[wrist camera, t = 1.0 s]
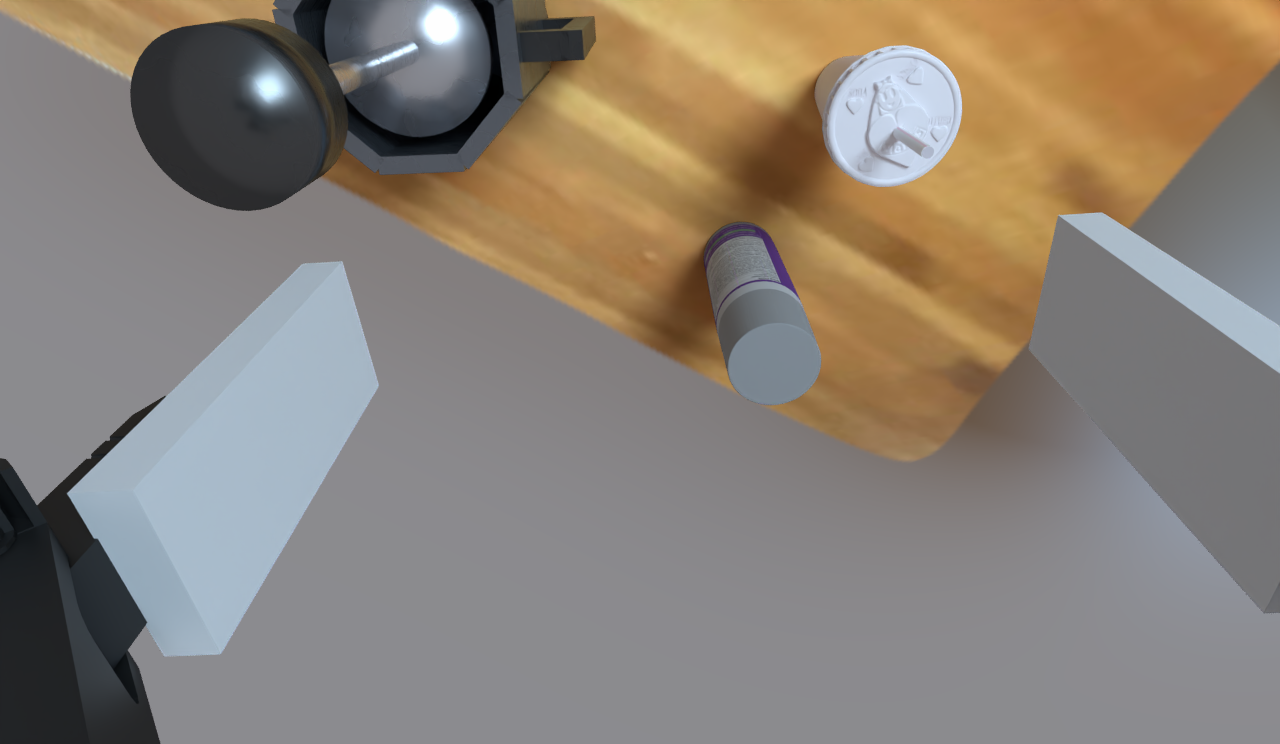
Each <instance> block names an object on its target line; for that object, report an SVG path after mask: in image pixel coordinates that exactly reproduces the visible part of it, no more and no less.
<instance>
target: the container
mask: <svg viewBox="0 0 1280 744" xmlns="http://www.w3.org/2000/svg"><path fill="white" fill-rule="evenodd" d="M704 266H705V271H706V276H707V281H708V287H709V292H710V297H711V302H712V308H713V313H714V318H715V323H716V328H717V333H718V336H719V340H720V344H721V348H722V352H723V356H724V360H725V364H726V368H727V371H728V375H729V379H730V381H731V383H732V385H733V387H734V388H735V390H736V391H737V392H738V393H739V394H740V395H742V396H743V397H744V398H746V399H748V400H750V401H752V402H755V403H758V404H763V405H778V404H783V403H787V402H790V401H792V400H794V399H796V398H798V397H800V396H801V395H803V394H804V393H805V392H806V391H807V390H808V389H809V388H810V387H811V386H812V385H813V383H814V382H815V380H816V378H817V377H818V374H819V371H820V367H821V354H820V350H819V347H818V345H817V342H816V340H815V337H814V334H813V332H812V329H811V327H810V324H809V321H808V319H807V316H806V314H805V311H804V308H803V306H802V303H801V301H800V299H799V297H798V294H797V292H796V290H795V288H794V286H793V284H792V281H791V279H790V277H789V275H788V273H787V271H786V268H785V266H784V264H783V262H782V260H781V258H780V255H779V253H778V251H777V249H776V247H775V245H774V242H773V241H772V239H771V237H770V236H769V234H768V233H767V232H766V231H765V230H764V229H762V228H761V227H759V226H757V225H755V224H752V223H748V222H736V223H731V224H728V225H726V226H724V227H722V228H720V229H719V230H718V231H716V232H715V233H714V234H713V236H712V237H711V238H710V240H709V241H708V243H707V245H706V248H705V252H704Z"/></svg>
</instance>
